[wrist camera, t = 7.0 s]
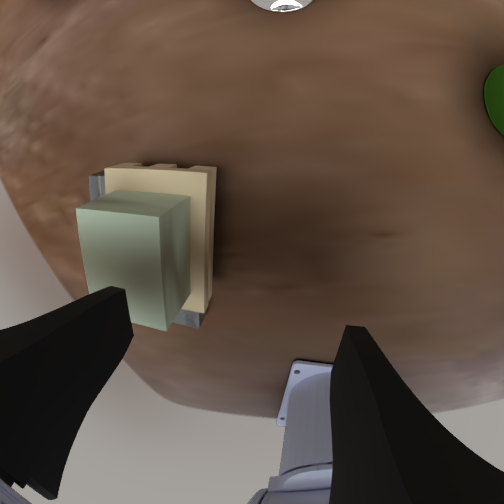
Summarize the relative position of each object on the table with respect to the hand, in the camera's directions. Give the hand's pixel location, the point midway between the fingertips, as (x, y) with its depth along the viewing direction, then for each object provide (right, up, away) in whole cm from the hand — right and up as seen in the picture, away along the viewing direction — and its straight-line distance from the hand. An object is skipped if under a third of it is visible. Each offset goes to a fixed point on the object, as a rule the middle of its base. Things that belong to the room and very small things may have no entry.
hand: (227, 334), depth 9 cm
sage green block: (-4, +4, +8) cm, 10 cm away
